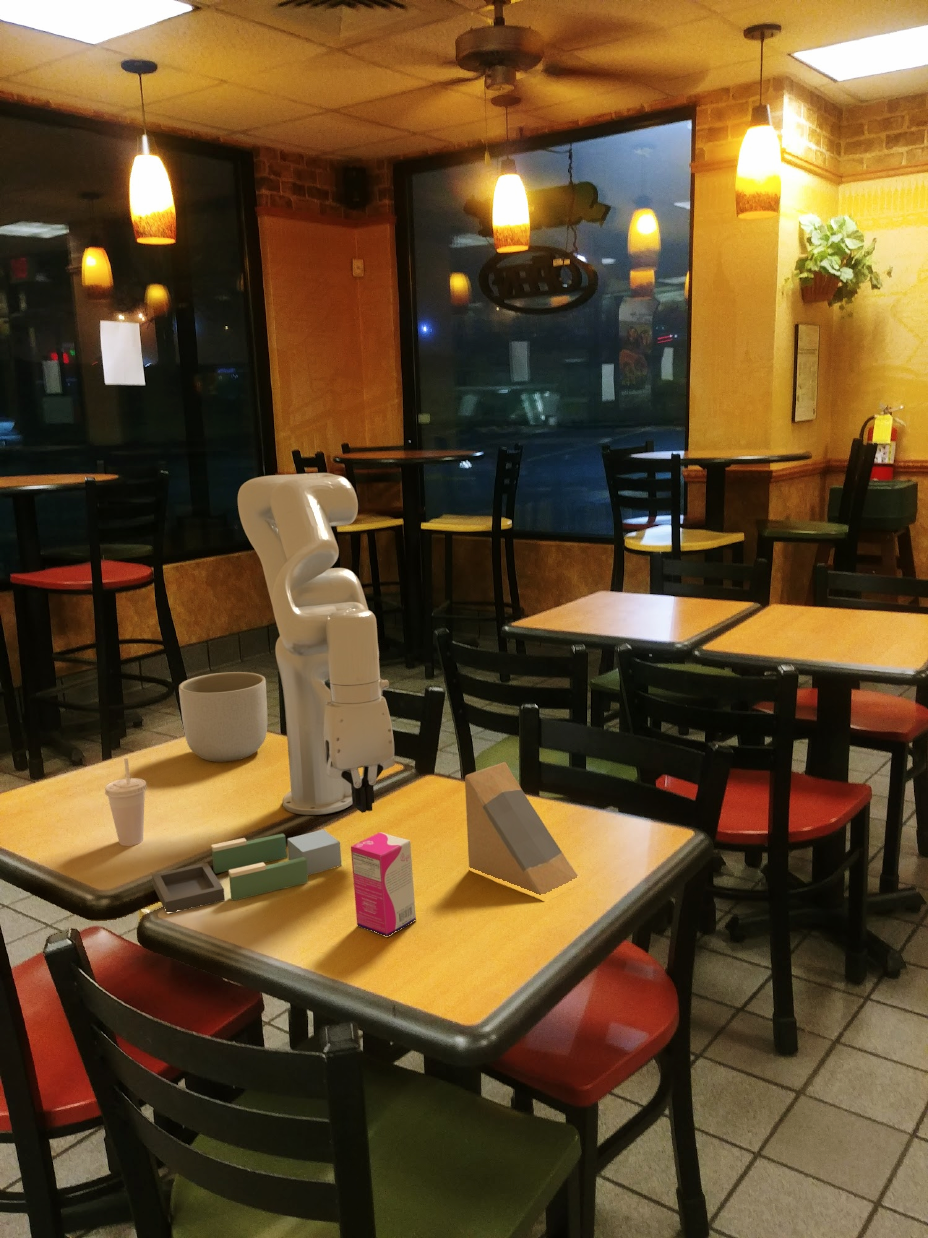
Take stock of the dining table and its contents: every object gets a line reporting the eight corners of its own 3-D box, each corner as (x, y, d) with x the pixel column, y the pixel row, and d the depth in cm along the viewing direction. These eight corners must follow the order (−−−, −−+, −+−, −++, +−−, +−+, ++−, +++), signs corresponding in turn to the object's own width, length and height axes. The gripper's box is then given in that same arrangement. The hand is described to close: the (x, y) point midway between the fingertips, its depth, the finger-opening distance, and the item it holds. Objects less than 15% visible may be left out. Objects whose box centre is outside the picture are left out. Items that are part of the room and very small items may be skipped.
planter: (245, 736, 220) (240, 667, 217) (286, 754, 207) (281, 681, 204) (171, 754, 209) (164, 682, 207) (208, 774, 197) (202, 698, 194)
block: (325, 853, 159) (323, 829, 158) (341, 867, 154) (340, 842, 153) (288, 863, 156) (287, 838, 155) (304, 877, 151) (302, 852, 150)
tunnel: (284, 854, 159) (282, 829, 158) (308, 882, 148) (306, 856, 148) (213, 870, 154) (211, 844, 153) (233, 900, 144) (230, 873, 143)
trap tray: (208, 874, 153) (207, 862, 152) (224, 900, 144) (223, 888, 144) (153, 886, 149) (152, 874, 149) (166, 914, 140) (165, 902, 140)
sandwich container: (545, 904, 140) (543, 800, 137) (467, 872, 151) (463, 775, 148) (585, 883, 146) (584, 783, 143) (507, 854, 156) (504, 760, 154)
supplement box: (384, 909, 140) (380, 830, 137) (417, 921, 136) (413, 840, 134) (354, 926, 135) (349, 844, 133) (387, 939, 132) (382, 855, 129)
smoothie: (139, 850, 162) (130, 766, 159) (102, 848, 163) (93, 764, 161) (159, 834, 168) (151, 753, 166) (123, 832, 170) (115, 751, 167)
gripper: (392, 680, 160) (399, 793, 163) (300, 695, 153) (309, 812, 156) (411, 689, 153) (418, 806, 156) (316, 704, 147) (325, 826, 149)
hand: (363, 809), depth 156 cm, fingers closed
